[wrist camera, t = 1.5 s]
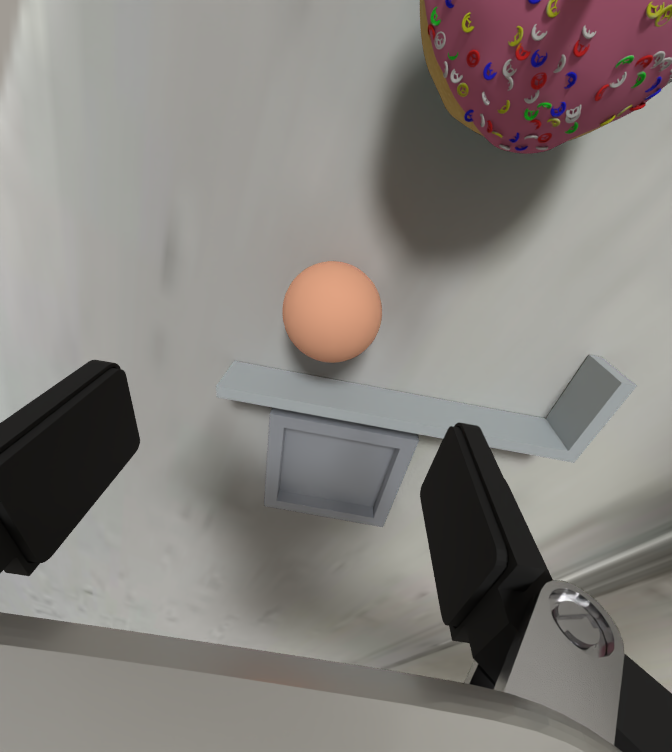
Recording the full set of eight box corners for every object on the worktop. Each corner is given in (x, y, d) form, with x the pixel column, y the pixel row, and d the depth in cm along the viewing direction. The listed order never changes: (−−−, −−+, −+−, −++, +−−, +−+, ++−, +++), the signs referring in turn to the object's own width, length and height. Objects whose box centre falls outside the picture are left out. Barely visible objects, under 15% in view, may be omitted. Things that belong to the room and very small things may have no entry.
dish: (415, 423, 23) (418, 441, 22) (382, 508, 29) (382, 527, 27) (276, 397, 23) (269, 413, 22) (269, 487, 28) (263, 505, 27)
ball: (390, 260, 17) (396, 290, 13) (370, 343, 20) (369, 389, 16) (297, 243, 17) (274, 267, 13) (290, 328, 20) (268, 371, 16)
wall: (602, 356, 19) (637, 385, 17) (551, 429, 22) (574, 462, 20) (233, 287, 19) (212, 306, 16) (234, 370, 22) (216, 397, 20)
